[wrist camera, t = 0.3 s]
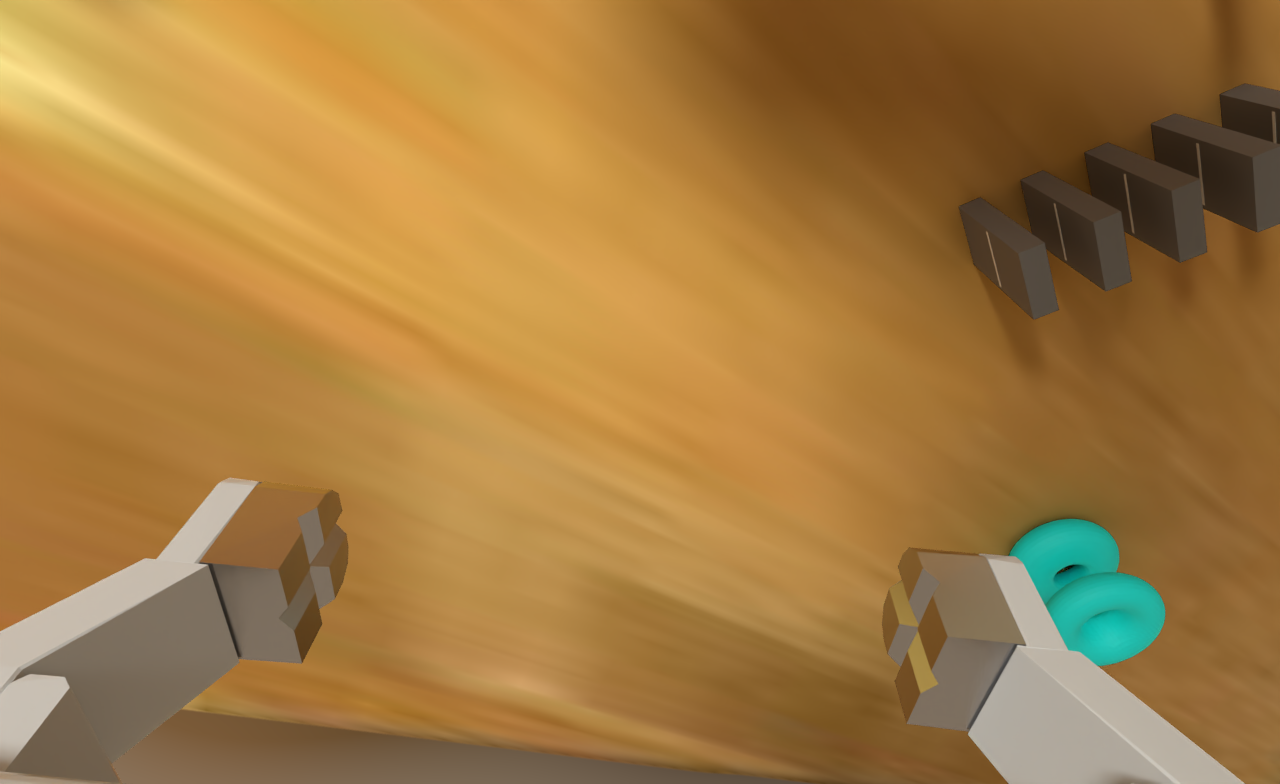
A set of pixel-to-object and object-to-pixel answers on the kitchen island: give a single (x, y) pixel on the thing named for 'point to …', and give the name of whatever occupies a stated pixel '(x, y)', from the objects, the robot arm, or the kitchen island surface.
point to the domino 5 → (1252, 111)
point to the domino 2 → (1078, 229)
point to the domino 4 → (1224, 168)
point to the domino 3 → (1150, 200)
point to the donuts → (1090, 591)
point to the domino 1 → (1010, 257)
